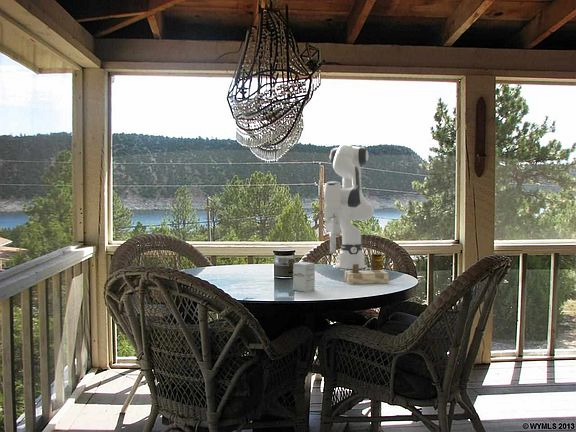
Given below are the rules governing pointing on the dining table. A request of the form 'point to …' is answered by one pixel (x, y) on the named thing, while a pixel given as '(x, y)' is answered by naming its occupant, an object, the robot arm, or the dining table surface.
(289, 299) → the dining table surface
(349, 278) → the hole block
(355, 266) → the walnut peg
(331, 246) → the steel peg
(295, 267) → the supplement box
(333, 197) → the robot arm
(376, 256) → the condiment
